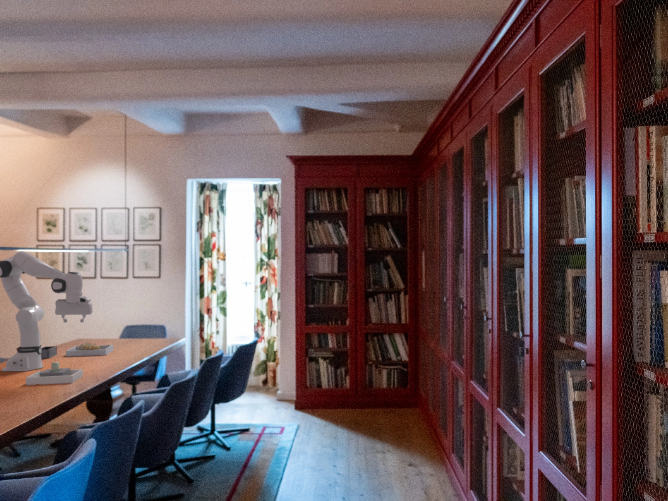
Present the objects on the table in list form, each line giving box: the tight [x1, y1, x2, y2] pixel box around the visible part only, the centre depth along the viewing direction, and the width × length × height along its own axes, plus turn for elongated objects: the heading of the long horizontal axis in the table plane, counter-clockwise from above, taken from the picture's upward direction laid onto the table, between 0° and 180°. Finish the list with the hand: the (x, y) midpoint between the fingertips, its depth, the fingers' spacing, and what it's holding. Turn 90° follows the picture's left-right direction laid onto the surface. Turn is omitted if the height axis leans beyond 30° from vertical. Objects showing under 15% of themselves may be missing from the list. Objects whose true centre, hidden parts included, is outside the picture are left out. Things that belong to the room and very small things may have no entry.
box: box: [25, 367, 84, 386], centre depth 299 cm, size 24×18×6 cm
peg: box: [50, 361, 60, 372], centre depth 299 cm, size 4×4×9 cm
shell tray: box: [65, 344, 114, 357], centre depth 386 cm, size 27×21×4 cm
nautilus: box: [79, 341, 100, 350], centre depth 386 cm, size 8×21×15 cm
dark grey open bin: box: [41, 345, 58, 360], centre depth 374 cm, size 8×16×6 cm, turn 9°
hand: (73, 322), depth 315 cm, fingers open, 8 cm apart
